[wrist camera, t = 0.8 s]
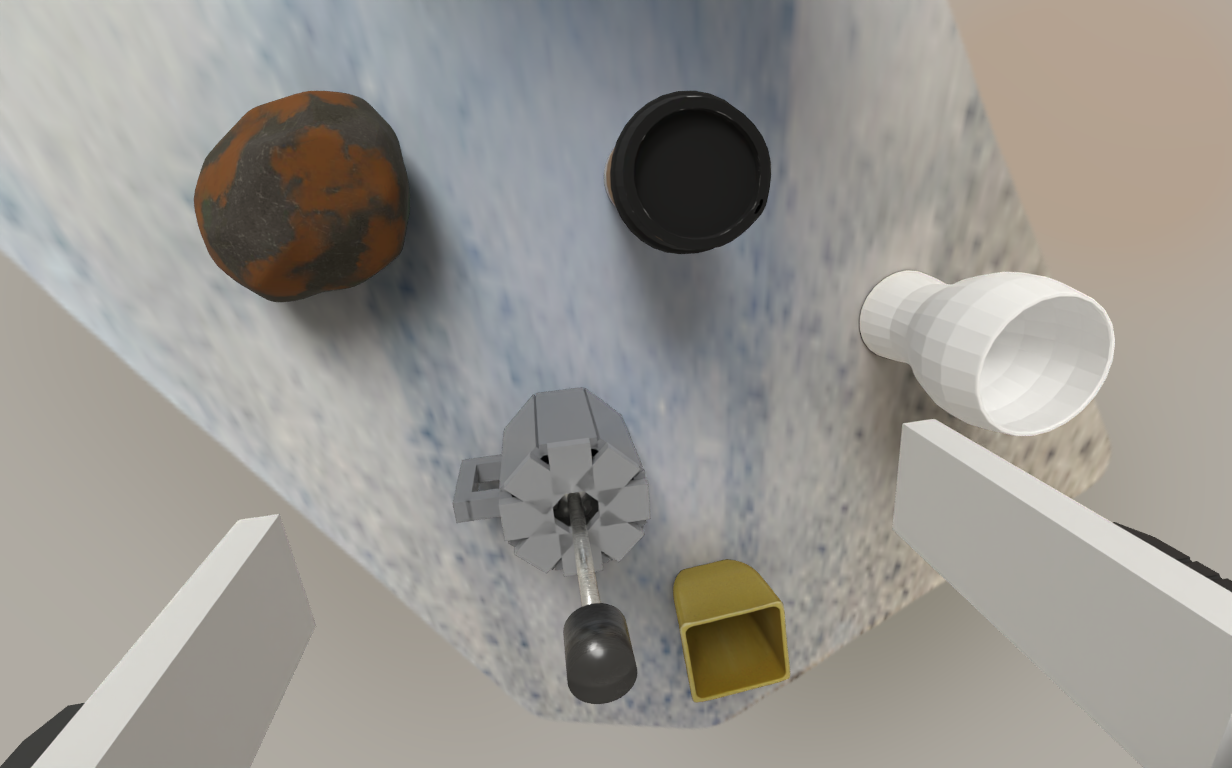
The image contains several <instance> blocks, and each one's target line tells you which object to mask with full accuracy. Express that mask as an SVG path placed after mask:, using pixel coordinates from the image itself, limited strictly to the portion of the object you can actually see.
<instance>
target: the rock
mask: <svg viewBox="0 0 1232 768" xmlns="http://www.w3.org/2000/svg"><path fill="white" fill-rule="evenodd" d="M194 207H195V213H196V218H197V222H198V226H199V229H200V232H201V235H202V238H203V240H204V243H205V245H206V247H207V250H208V252H209V254H210V256H211V258H212V259H213V260H214V262H215V263H216V264H217V266H218V267H219V268H221V269H222V270H223V271H224V272H225V273H226V274H227V275H228V276H230V277H231V278H232V279H234V280H235V281H236V282H238V283H239V284H241V285H242V286H244V287H246V288H248V289H249V290H251V291H253V292H254V293H256V294H258V295H260V296H261V297H263V298H265V299H267V300H270V301H273V302H290V301H296V300H300V299H304V298H307V297H309V296H312V295H315V294H318V293H321V292H325V291H331V290H338V289H345V288H350V287H353V286H356V285H358V284H360V283H362V282H364V281H366V280H367V279H369V278H370V277H372V276H373V275H375V274H376V273H377V272H379V271H380V270H382V269H383V268H384V267H386V266H387V265H388V264H390V263H391V262H392V261H393V260H394V259H396V258H397V257H398V256H399V254H400V253H401V251H402V249H403V245H404V240H405V234H406V228H407V223H408V218H409V212H410V192H409V182H408V177H407V173H406V169H405V165H404V162H403V157H402V153H401V149H400V145H399V141H398V139H397V136H396V134H395V132H394V131H393V129H392V128H391V126H390V125H389V124H388V123H387V122H386V121H385V120H384V119H383V118H382V117H381V116H380V115H379V114H378V113H377V111H376V110H375V109H374V108H373V107H372V106H371V105H370V104H369V103H367V102H366V101H365V100H363V99H362V98H359V97H357V96H354V95H351V94H346V93H340V92H330V91H307V92H302V93H298V94H294V95H291V96H288V97H285V98H282V99H279V100H275V101H272V102H269V103H266V104H263V105H260V106H257V107H255V108H253V109H251V110H250V111H248V112H247V113H246V114H245V115H244V116H243V117H242V118H241V119H240V120H239V121H238V122H237V123H236V125H235V126H234V127H233V128H232V129H231V130H230V131H229V132H228V133H227V134H226V135H225V136H224V137H223V138H222V139H221V141H220V142H219V143H218V144H217V145H216V146H215V147H214V148H213V150H212V151H211V152H210V153H209V154H208V156H207V157H206V159H205V161H204V163H203V166H202V169H201V172H200V175H199V178H198V182H197V185H196V189H195V195H194Z"/></svg>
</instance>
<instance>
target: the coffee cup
mask: <svg viewBox="0 0 1232 768" xmlns="http://www.w3.org/2000/svg"><path fill="white" fill-rule="evenodd" d="M770 179H771V161H770V156H769V152H768V148H767V146H766V143H765V141H764V139H763V137H762V135H761V134H760V132H759V131H758V129H757V128H756V126H755V125H754V124H753V123H752V122H751V121H750V120H749V119H748V118H747V117H746V116H745V115H744V114H743V113H742V112H740V111H739V110H737V109H736V108H735V107H733V106H732V105H731V104H729V103H728V102H726V101H725V100H723V99H721V98H719V97H716V96H714V95H712V94H709V93H703V92H698V91H678V92H674V93H670V94H666V95H662V96H660V97H658V98H656V99H655V100H653V101H651V102H649V103H647V104H646V105H645V106H644V107H642V108H641V109H640V110H639V111H638V112H636V113H635V114H634V116H633V117H632V118H631V119H630V120H629V122H628V123H627V124H626V125H625V127H624V129H623V131H622V132H621V134H620V136H619V138H618V140H617V142H616V146H615V147H614V149H613V150H612V151H611V153H610V155H609V157H608V159H607V162H606V165H605V170H604V184H605V188H606V192H607V194H608V196H609V199H610V200H611V201H612V203H613V204H614V206H615V207H616V208H617V210H618V212H619V215H620V217H621V219H622V220H623V221H624V223H625V224H626V226H627V227H628V228H629V230H630V231H631V232H632V233H633V234H634V235H636V236H637V237H638V238H639V239H640V240H641V241H643V242H644V243H646V244H648V245H649V246H651V247H653V248H655V249H658V250H661V251H664V252H668V253H676V254H691V253H700V252H704V251H708V250H711V249H714V248H716V247H720V246H723V245H725V244H727V243H729V242H731V241H733V240H734V239H736V238H737V237H739V236H740V235H741V234H742V233H744V232H745V231H746V230H747V229H748V228H749V227H750V226H751V225H752V224H753V223H754V222H755V221H756V220H757V218H758V217H759V216H760V215H761V214H762V212H763V210H764V208H765V206H766V202H767V198H768V193H769V188H770Z"/></svg>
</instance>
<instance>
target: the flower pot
mask: <svg viewBox="0 0 1232 768" xmlns="http://www.w3.org/2000/svg"><path fill="white" fill-rule="evenodd" d="M673 597H674V603H675V608H676V613H677V618H678V624H679V629H680V635H681V641H682V647H683V654H684V659H685V664H686V669H687V674H688V679H689V684H690V690H691V695H692V699H693V701H694V702H703V701H708V700H712V699H717V698H721V697H724V696H728V695H732V694H736V693H740V692H744V691H747V690H751V689H755V688H759V687H763V686H767V685H771V684H775V683H778V682H781V681H784V680H786V679H789V678H790V665H789V657H788V647H787V637H786V624H785V612H784V606H783V603H782V602H781V600H780V599H779V598H778V597H777V595H776V594H775V593H774V592H773V590H772V589H771V588H770V587H769V585H768V584H767V583H766V582H765V581H764V579H763V578H762V577H761V576H760V575H759V573H758V572H757V571H756V570H754V569H753V568H752V567H750V566H749V565H747V564H745V563H742V562H739V561H735V560H729V559H726V560H722V561H718V562H714V563H709V564H706V565H701V566H697V567H693V568H688V569H684V570H682V571H680V573H679V574H678V575H677V577H676V579H675V582H674V586H673Z"/></svg>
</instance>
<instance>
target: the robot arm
mask: <svg viewBox="0 0 1232 768" xmlns="http://www.w3.org/2000/svg"><path fill="white" fill-rule="evenodd" d="M892 529H893V530H894V531H895V532H896V533H897V534H898V535H899V536H900V537H901V538H902V539H903V540H904V541H905V542H906V543H907V544H908V545H909V546H910V547H912V548H913V549H914V550H915V551H916V552H917V553H918V554H919V555H920V556H921V557H922V558H923V559H924V560H925V561H926V562H927V563H928V564H929V565H930V566H932V567H933V568H934V569H935V570H936V571H937V572H938V573H939V574H940V575H941V576H942V577H943V578H944V579H945V580H946V581H947V582H948V583H949V584H951V585H952V586H953V587H954V588H955V589H956V590H957V591H958V592H959V593H960V594H961V595H962V596H963V597H964V598H965V599H966V600H967V601H968V602H969V603H970V604H972V605H973V606H974V607H975V608H976V609H977V610H978V611H979V612H980V613H981V614H982V615H983V616H984V617H985V618H986V619H987V620H988V621H989V622H991V623H992V624H993V625H994V626H995V627H996V628H997V629H998V630H999V631H1000V632H1001V633H1002V634H1003V635H1004V636H1005V637H1006V638H1007V639H1008V640H1010V641H1011V642H1012V643H1013V644H1014V645H1015V646H1016V647H1017V648H1018V649H1019V650H1020V651H1021V652H1022V653H1023V654H1024V655H1025V656H1026V657H1027V658H1028V659H1029V660H1031V661H1032V662H1033V663H1034V664H1035V665H1036V666H1037V667H1038V668H1039V669H1040V670H1041V671H1042V672H1043V673H1044V674H1045V675H1046V676H1047V677H1048V678H1050V680H1052V681H1053V682H1054V683H1055V684H1056V685H1057V686H1058V687H1059V688H1060V689H1061V690H1062V691H1064V693H1065V694H1066V695H1067V696H1068V697H1069V698H1070V699H1071V700H1073V701H1074V702H1075V703H1076V704H1077V705H1078V706H1079V707H1080V708H1081V709H1082V710H1083V711H1084V712H1085V713H1086V714H1087V715H1088V716H1089V717H1091V718H1092V719H1093V720H1094V721H1095V722H1096V723H1097V724H1098V725H1099V726H1100V727H1101V728H1102V729H1103V730H1104V731H1105V732H1106V733H1107V734H1108V735H1109V736H1111V737H1112V738H1113V739H1114V740H1115V741H1116V742H1117V743H1118V744H1119V745H1120V746H1121V747H1122V748H1123V749H1124V750H1125V751H1126V752H1127V753H1128V754H1129V755H1130V756H1131V757H1133V758H1134V759H1135V760H1136V761H1137V762H1138V763H1139V764H1140V765H1141V766H1142V767H1143V768H1232V581H1231V580H1229V579H1222V578H1221V577H1220V575H1219V573H1217V572H1215V571H1213V570H1211V569H1210V568H1208V567H1206V566H1204V565H1203V564H1201V563H1199V562H1197V561H1195V562H1192V561H1191V560H1190V557H1189V556H1187V555H1185V554H1183V553H1182V552H1180V551H1178V550H1176V549H1174V548H1173V547H1171V546H1169V545H1167V544H1166V543H1164V542H1162V541H1160V540H1159V539H1157V538H1155V537H1153V536H1150V535H1147V534H1145V533H1142V532H1139V531H1137V530H1134V529H1131V528H1129V527H1126V526H1123V525H1120V524H1118V523H1115V522H1110V521H1109V520H1107V519H1105V518H1103V517H1102V516H1100V515H1098V514H1097V513H1095V512H1093V511H1092V510H1090V509H1088V508H1086V507H1085V506H1083V505H1081V504H1080V503H1078V502H1076V501H1074V500H1073V499H1071V498H1069V497H1068V496H1066V495H1064V494H1062V493H1061V492H1059V491H1057V490H1056V489H1054V488H1052V487H1050V486H1049V485H1047V484H1045V483H1044V482H1042V481H1040V480H1038V479H1037V478H1035V477H1033V476H1032V475H1030V474H1028V473H1026V472H1025V471H1023V470H1021V469H1020V468H1018V467H1016V466H1014V465H1013V464H1011V463H1009V462H1008V461H1006V460H1004V459H1002V458H1001V457H999V456H997V455H996V454H994V453H992V452H990V451H989V450H987V449H985V448H984V447H982V446H980V445H978V444H977V443H975V442H973V441H972V440H970V439H968V438H966V437H965V436H963V435H961V434H960V433H958V432H956V431H954V430H953V429H951V428H949V427H948V426H946V425H944V424H942V423H941V422H939V421H937V420H936V419H930V420H923V421H916V422H909V423H903V424H902V434H901V444H900V455H899V465H898V476H897V486H896V496H895V507H894V517H893V527H892ZM315 626H316V623H315V620H314V617H313V614H312V611H311V608H310V605H309V602H308V599H307V596H306V593H305V590H304V587H303V584H302V581H301V578H300V574H299V571H298V568H297V565H296V562H295V559H294V556H293V553H292V550H291V547H290V544H289V541H288V538H287V535H286V532H285V529H284V526H283V523H282V520H281V517H280V514H276V515H269V516H262V517H255V518H249V519H242V520H238V521H237V522H236V523H235V525H234V526H233V527H232V528H231V529H230V530H229V532H228V533H227V534H226V535H225V536H224V538H223V539H222V540H221V541H220V542H219V544H218V545H217V546H216V547H215V549H214V550H213V551H212V552H211V553H210V554H209V556H208V557H207V558H206V559H205V560H204V562H203V563H202V564H201V565H200V566H199V568H198V569H197V570H196V571H195V572H194V574H193V575H192V576H191V577H190V578H189V579H188V581H187V582H186V583H185V584H184V585H183V587H182V588H181V589H180V590H179V591H178V593H177V594H176V595H175V596H174V597H173V599H172V600H171V601H170V602H169V604H168V605H167V606H166V607H165V608H164V609H163V611H162V612H161V613H160V614H159V615H158V616H157V618H156V619H155V620H154V621H153V623H152V624H151V625H150V626H149V627H148V628H147V630H146V631H145V632H144V633H143V634H142V636H141V637H140V638H139V639H138V641H137V642H136V643H135V644H134V645H133V646H132V648H131V649H130V650H129V651H128V652H127V654H126V655H125V656H124V657H123V658H122V659H121V661H120V662H119V663H118V664H117V666H116V667H115V668H114V669H113V670H112V671H111V673H110V674H109V675H108V676H107V677H106V679H105V680H104V681H103V682H102V683H101V685H100V686H99V687H98V688H97V689H96V691H95V692H94V693H93V694H92V696H91V697H90V698H89V699H88V700H87V701H86V703H81V704H75V705H70V706H67V707H66V708H64V709H63V710H62V711H61V712H59V713H58V714H57V715H56V716H54V717H53V718H52V719H51V720H49V721H48V722H47V723H46V724H44V725H43V726H42V727H40V728H39V729H38V730H37V731H35V732H34V733H33V734H32V735H30V736H29V737H28V738H26V739H25V740H24V741H23V742H22V743H21V744H20V745H19V746H18V747H17V749H16V750H15V751H14V752H13V753H12V754H11V755H10V756H9V757H8V759H7V760H6V761H5V762H4V763H3V764H2V765H1V767H0V768H250V766H251V765H252V762H253V760H254V758H255V756H256V754H257V751H258V750H259V747H260V745H261V743H262V741H263V739H264V737H265V734H266V732H267V730H268V728H269V725H270V724H271V722H272V719H273V717H274V715H275V713H276V711H277V709H278V706H279V704H280V702H281V700H282V698H283V696H284V694H285V691H286V689H287V687H288V685H289V683H290V681H291V678H292V676H293V674H294V672H295V670H296V668H297V666H298V663H299V661H300V659H301V657H302V655H303V653H304V650H305V648H306V646H307V644H308V642H309V640H310V638H311V635H312V633H313V631H314V629H315Z"/></svg>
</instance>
